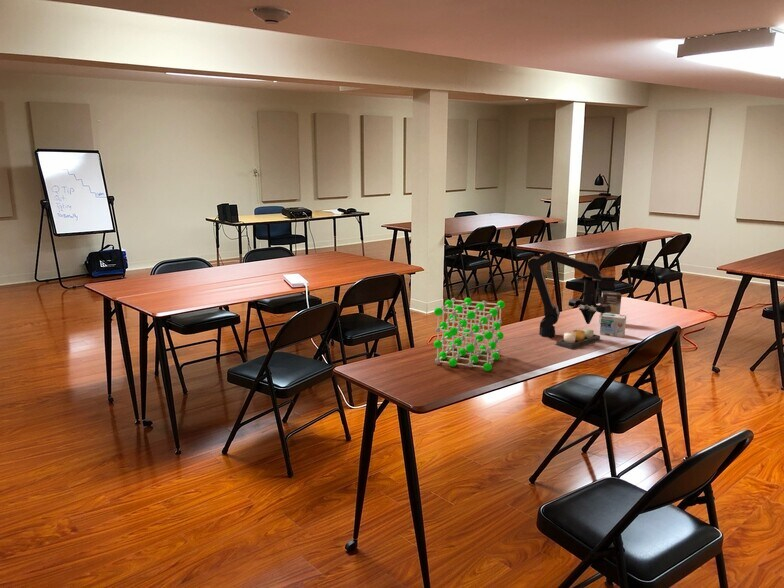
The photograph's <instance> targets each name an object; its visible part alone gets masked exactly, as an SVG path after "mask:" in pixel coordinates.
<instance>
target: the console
mask: <svg viewBox="0 0 784 588" xmlns="http://www.w3.org/2000/svg"><path fill="white" fill-rule="evenodd" d="M601 341H602V339H601V335H600V334H595V333H594V334H593V337H591V338H586V337H585V338H584V340H582V341H578V340H575V343H573V344H569V343H565V342H564V338H562V339H558V340H556V343H554V344H553V345H554V346H557V347H561V348H565V349H569V350H572V351H574V350H577V349H579V348H583V347H586V346H589V345H592V344H595V343H598V342H601Z"/></svg>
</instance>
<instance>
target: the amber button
mask: <svg viewBox="0 0 784 588" xmlns="http://www.w3.org/2000/svg"><path fill="white" fill-rule="evenodd" d="M583 330H584V329H574V330H573V332H572V333H574V334H576V338H575V340H578V341H582V340H584V338H585V331H583Z"/></svg>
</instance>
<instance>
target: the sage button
mask: <svg viewBox="0 0 784 588" xmlns="http://www.w3.org/2000/svg"><path fill="white" fill-rule="evenodd" d="M582 330H583V331H585V337H586V338H591V337H593V334H595V331H594V330H593V329H588V328H587V329H586V328H585V329H584V328H583V329H582Z"/></svg>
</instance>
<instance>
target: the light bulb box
mask: <svg viewBox="0 0 784 588" xmlns="http://www.w3.org/2000/svg"><path fill="white" fill-rule="evenodd" d="M626 322H627V315H626V314H611V313H603V314H602V316H601V324H600V323H599V326H600V328H599V336H601V335H602V336H609V337H617V338H624V336H625V335H626V326H627V325H626Z"/></svg>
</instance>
